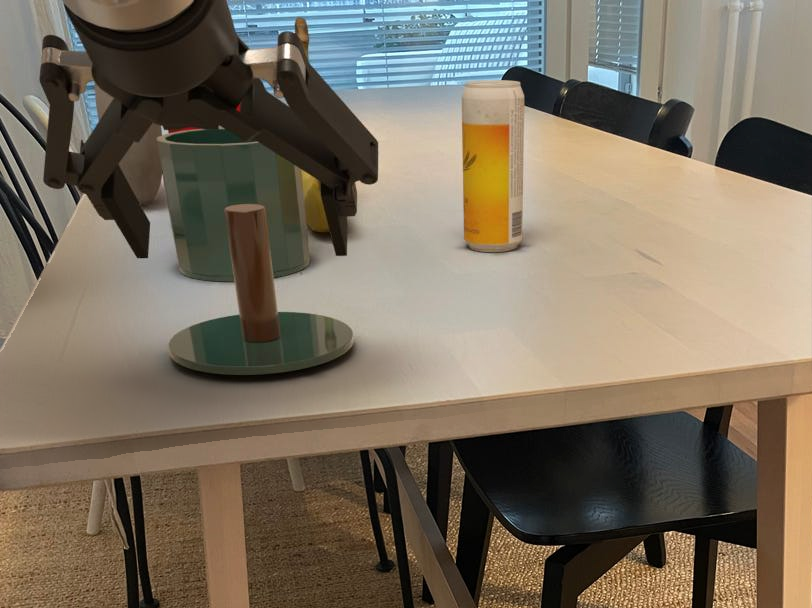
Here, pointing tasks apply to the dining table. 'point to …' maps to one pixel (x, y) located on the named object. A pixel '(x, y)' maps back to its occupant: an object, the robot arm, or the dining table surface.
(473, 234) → the beer can
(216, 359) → the jar lid
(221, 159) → the storage jar
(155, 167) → the grey-brown flattened oval
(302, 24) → the banana
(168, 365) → the dining table surface
